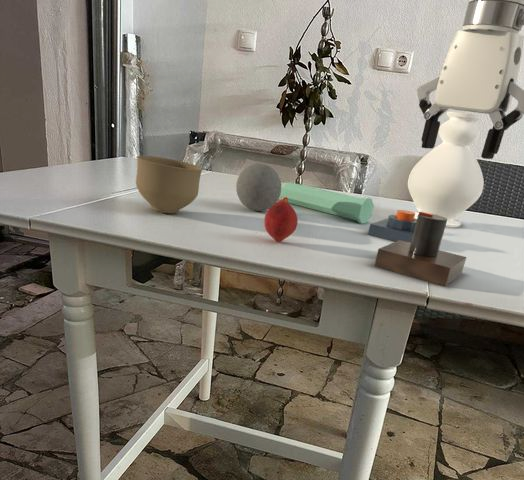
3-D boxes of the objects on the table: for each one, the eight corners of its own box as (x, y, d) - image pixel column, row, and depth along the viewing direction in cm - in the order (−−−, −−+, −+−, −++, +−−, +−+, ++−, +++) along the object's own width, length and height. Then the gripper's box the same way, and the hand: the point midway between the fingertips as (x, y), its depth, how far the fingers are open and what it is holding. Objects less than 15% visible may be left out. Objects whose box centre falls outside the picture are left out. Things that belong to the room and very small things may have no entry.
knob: (440, 253, 85) (451, 216, 82) (432, 258, 81) (443, 219, 79) (414, 247, 87) (423, 210, 84) (405, 251, 83) (414, 213, 81)
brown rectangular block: (461, 274, 87) (466, 257, 85) (445, 286, 79) (450, 268, 78) (395, 256, 92) (399, 240, 91) (374, 266, 84) (378, 248, 83)
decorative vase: (393, 219, 124) (419, 107, 113) (406, 209, 139) (430, 109, 128) (468, 234, 118) (503, 118, 107) (473, 222, 133) (505, 119, 122)
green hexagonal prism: (280, 175, 126) (366, 193, 112) (292, 183, 131) (376, 202, 116) (271, 198, 127) (356, 219, 112) (284, 205, 131) (366, 227, 117)
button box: (432, 240, 108) (437, 221, 106) (418, 247, 101) (423, 227, 99) (383, 228, 113) (388, 210, 111) (367, 234, 106) (371, 215, 104)
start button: (415, 221, 106) (417, 212, 105) (409, 223, 103) (411, 214, 102) (399, 217, 107) (401, 209, 107) (393, 219, 105) (395, 210, 104)
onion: (280, 248, 88) (286, 201, 84) (255, 239, 91) (260, 194, 87) (300, 244, 92) (307, 199, 88) (275, 236, 95) (281, 192, 91)
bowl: (208, 219, 100) (212, 167, 96) (144, 218, 95) (145, 162, 90) (188, 205, 110) (191, 157, 106) (129, 203, 105) (129, 152, 100)
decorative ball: (244, 203, 120) (248, 158, 115) (284, 211, 117) (290, 165, 113) (227, 209, 111) (231, 161, 107) (269, 218, 108) (275, 169, 104)
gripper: (566, 28, 68) (521, 163, 75) (445, 26, 78) (417, 145, 85) (549, 17, 62) (503, 162, 70) (423, 16, 72) (394, 143, 80)
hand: (456, 153), depth 78 cm, fingers open, 9 cm apart
